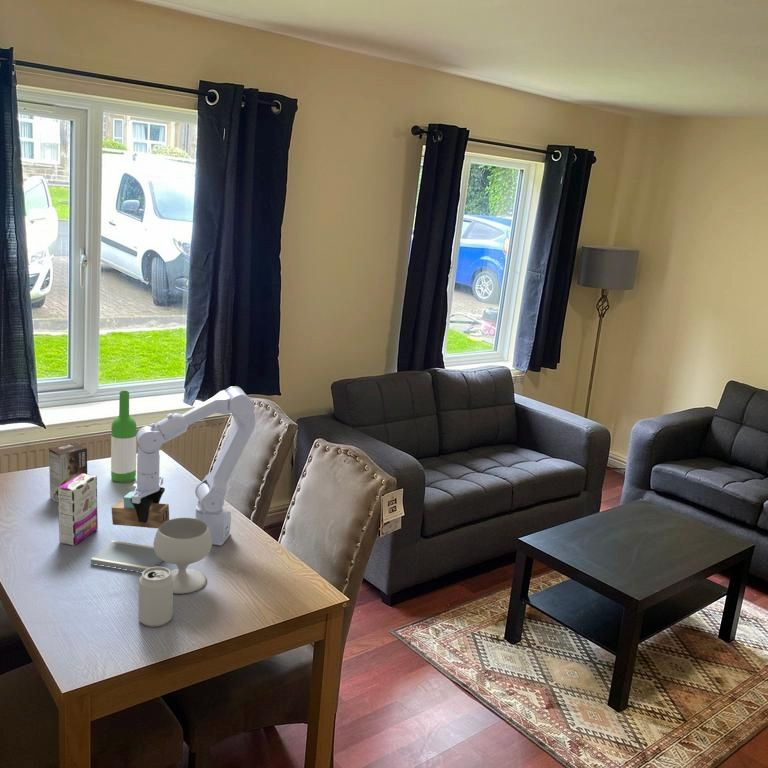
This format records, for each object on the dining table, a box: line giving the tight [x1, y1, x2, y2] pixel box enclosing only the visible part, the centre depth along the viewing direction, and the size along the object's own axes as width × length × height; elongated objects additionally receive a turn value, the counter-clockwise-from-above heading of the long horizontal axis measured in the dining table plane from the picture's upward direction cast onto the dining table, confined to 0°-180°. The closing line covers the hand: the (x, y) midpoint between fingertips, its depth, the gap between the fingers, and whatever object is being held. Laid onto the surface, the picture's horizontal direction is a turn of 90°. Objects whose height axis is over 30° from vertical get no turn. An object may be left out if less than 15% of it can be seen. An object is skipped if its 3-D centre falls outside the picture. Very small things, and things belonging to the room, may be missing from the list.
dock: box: [90, 539, 164, 572], centre depth 193 cm, size 16×11×2 cm
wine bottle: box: [110, 390, 138, 483], centre depth 239 cm, size 8×8×30 cm
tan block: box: [111, 499, 170, 529], centre depth 200 cm, size 14×5×5 cm, turn 82°
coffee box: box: [48, 442, 88, 503], centre depth 224 cm, size 9×6×16 cm
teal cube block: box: [122, 491, 135, 508], centre depth 200 cm, size 4×4×3 cm
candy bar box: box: [57, 473, 99, 547], centre depth 200 cm, size 11×5×16 cm, turn 168°
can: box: [138, 566, 174, 628], centre depth 167 cm, size 8×8×12 cm
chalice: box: [153, 517, 213, 595], centre depth 183 cm, size 14×14×15 cm
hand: (147, 517), depth 200 cm, fingers closed on tan block, 5 cm apart
